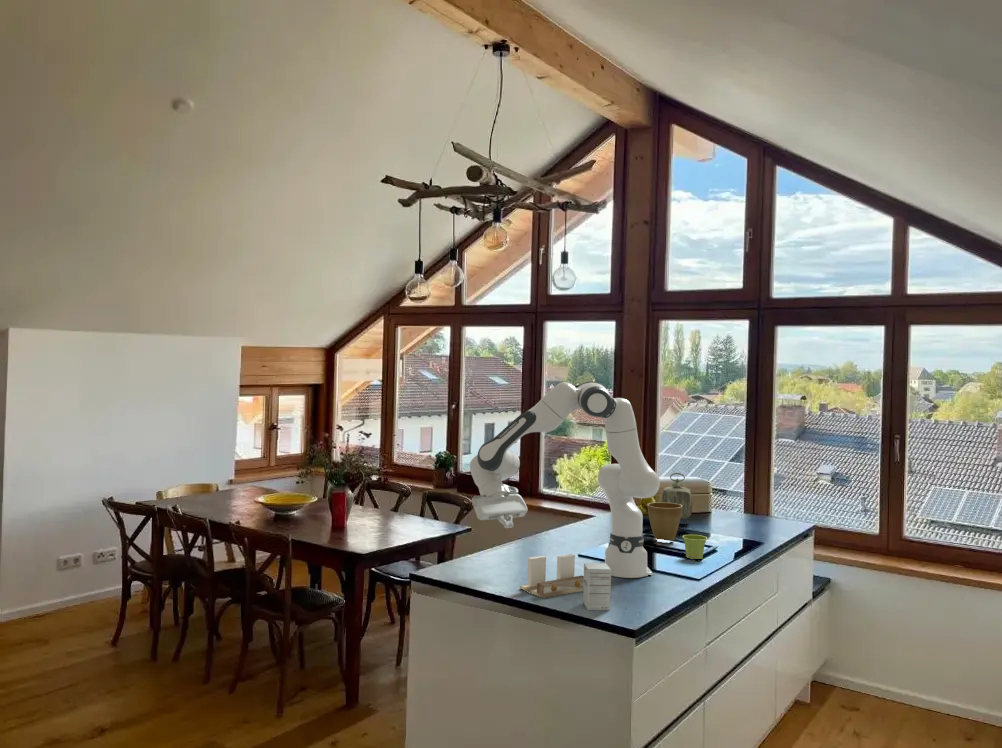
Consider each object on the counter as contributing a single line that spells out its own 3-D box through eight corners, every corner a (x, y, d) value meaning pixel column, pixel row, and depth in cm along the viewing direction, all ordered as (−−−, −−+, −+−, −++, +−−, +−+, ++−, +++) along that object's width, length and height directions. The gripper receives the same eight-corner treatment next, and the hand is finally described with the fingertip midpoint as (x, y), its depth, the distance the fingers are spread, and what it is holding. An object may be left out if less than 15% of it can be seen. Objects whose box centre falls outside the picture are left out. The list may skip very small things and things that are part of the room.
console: (519, 589, 261) (520, 576, 261) (563, 581, 272) (564, 569, 272) (543, 598, 251) (543, 585, 251) (587, 590, 262) (588, 577, 262)
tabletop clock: (691, 523, 387) (692, 472, 387) (692, 527, 378) (693, 474, 378) (661, 522, 389) (662, 471, 389) (661, 525, 381) (662, 473, 381)
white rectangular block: (527, 585, 260) (527, 557, 260) (541, 582, 263) (542, 555, 263) (531, 586, 258) (531, 559, 258) (545, 584, 262) (546, 556, 262)
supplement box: (582, 603, 247) (583, 562, 247) (605, 603, 247) (606, 563, 247) (586, 610, 239) (587, 568, 239) (610, 610, 240) (611, 568, 240)
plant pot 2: (707, 562, 306) (707, 540, 306) (682, 560, 307) (682, 538, 307) (706, 557, 315) (706, 535, 315) (681, 555, 317) (682, 534, 317)
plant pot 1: (658, 536, 353) (659, 500, 353) (688, 542, 343) (688, 505, 343) (639, 541, 342) (640, 504, 342) (669, 547, 332) (670, 509, 332)
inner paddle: (556, 583, 263) (557, 556, 263) (570, 580, 267) (570, 554, 267) (560, 584, 262) (561, 557, 262) (574, 582, 265) (574, 555, 265)
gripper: (473, 490, 273) (488, 523, 265) (520, 487, 285) (536, 519, 277) (466, 501, 277) (480, 534, 269) (512, 498, 289) (528, 530, 281)
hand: (509, 526), depth 273 cm, fingers closed
